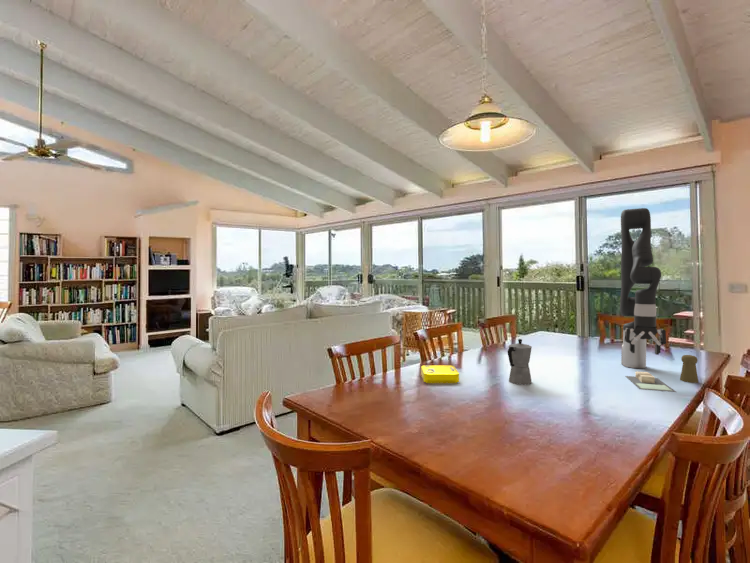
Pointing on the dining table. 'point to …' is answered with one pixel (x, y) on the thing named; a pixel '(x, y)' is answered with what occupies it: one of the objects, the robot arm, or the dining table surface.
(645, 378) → the maple tile
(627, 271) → the robot arm
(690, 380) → the cork
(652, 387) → the grey board
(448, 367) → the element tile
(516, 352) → the coffeepot
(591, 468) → the dining table surface
